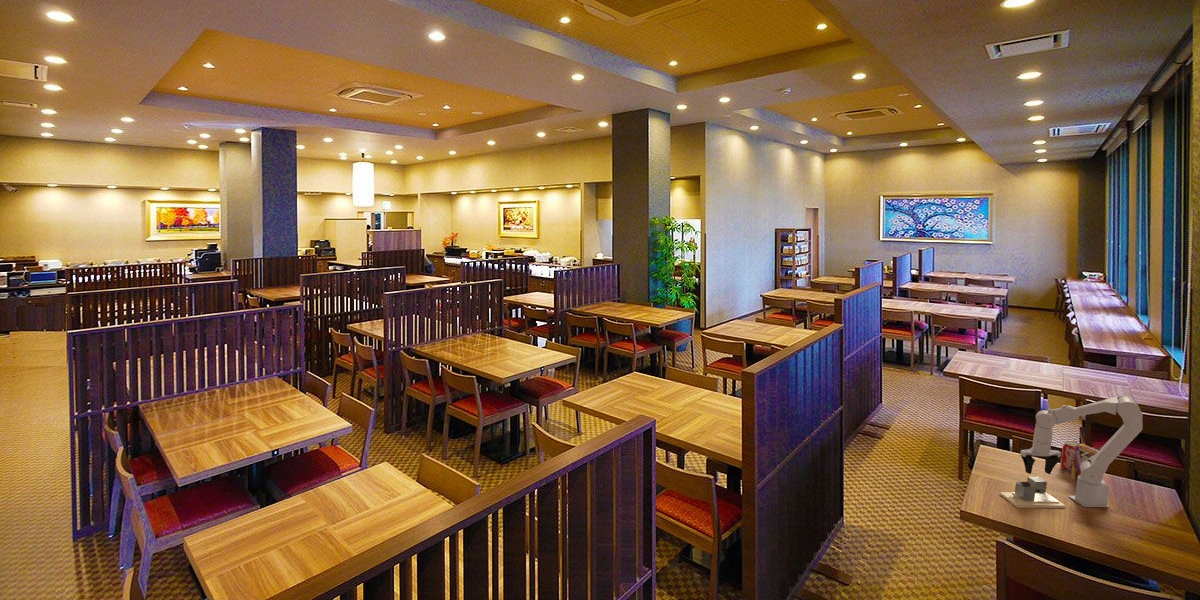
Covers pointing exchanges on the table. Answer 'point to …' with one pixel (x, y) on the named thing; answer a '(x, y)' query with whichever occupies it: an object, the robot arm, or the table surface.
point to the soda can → (1068, 455)
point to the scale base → (1021, 504)
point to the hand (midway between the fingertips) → (1037, 472)
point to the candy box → (1081, 458)
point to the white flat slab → (1039, 498)
